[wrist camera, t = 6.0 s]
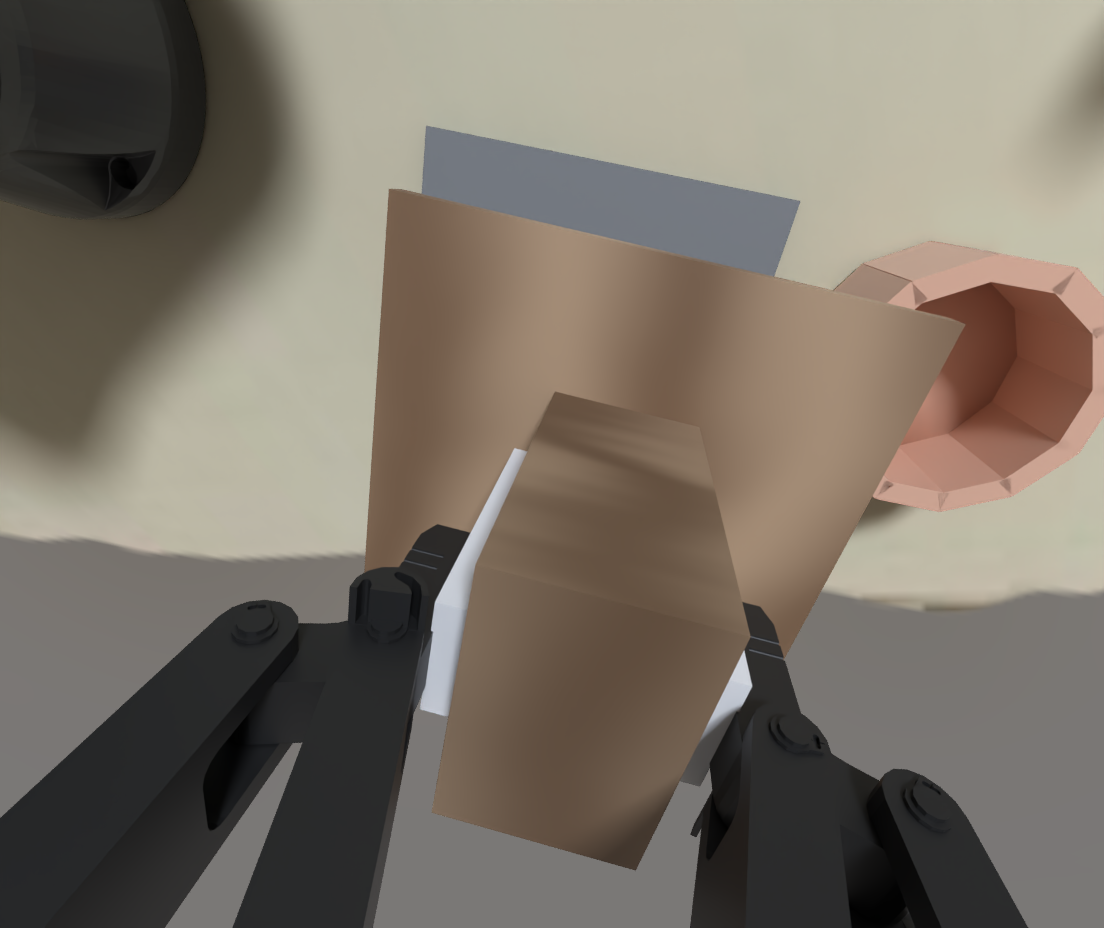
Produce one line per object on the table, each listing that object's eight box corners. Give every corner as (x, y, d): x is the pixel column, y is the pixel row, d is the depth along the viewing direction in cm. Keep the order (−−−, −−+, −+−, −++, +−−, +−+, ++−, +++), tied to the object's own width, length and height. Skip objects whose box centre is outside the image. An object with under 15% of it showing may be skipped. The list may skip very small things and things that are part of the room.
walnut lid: (371, 604, 21) (202, 856, 13) (401, 189, 14) (103, 178, 6) (745, 704, 20) (811, 1034, 12) (949, 317, 14) (1363, 479, 6)
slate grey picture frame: (408, 452, 35) (404, 456, 35) (430, 127, 27) (426, 125, 27) (687, 516, 35) (688, 521, 34) (797, 200, 26) (800, 200, 26)
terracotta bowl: (765, 432, 32) (789, 481, 26) (840, 225, 27) (890, 234, 21) (962, 471, 31) (1027, 530, 26) (1078, 266, 26) (1189, 287, 21)
